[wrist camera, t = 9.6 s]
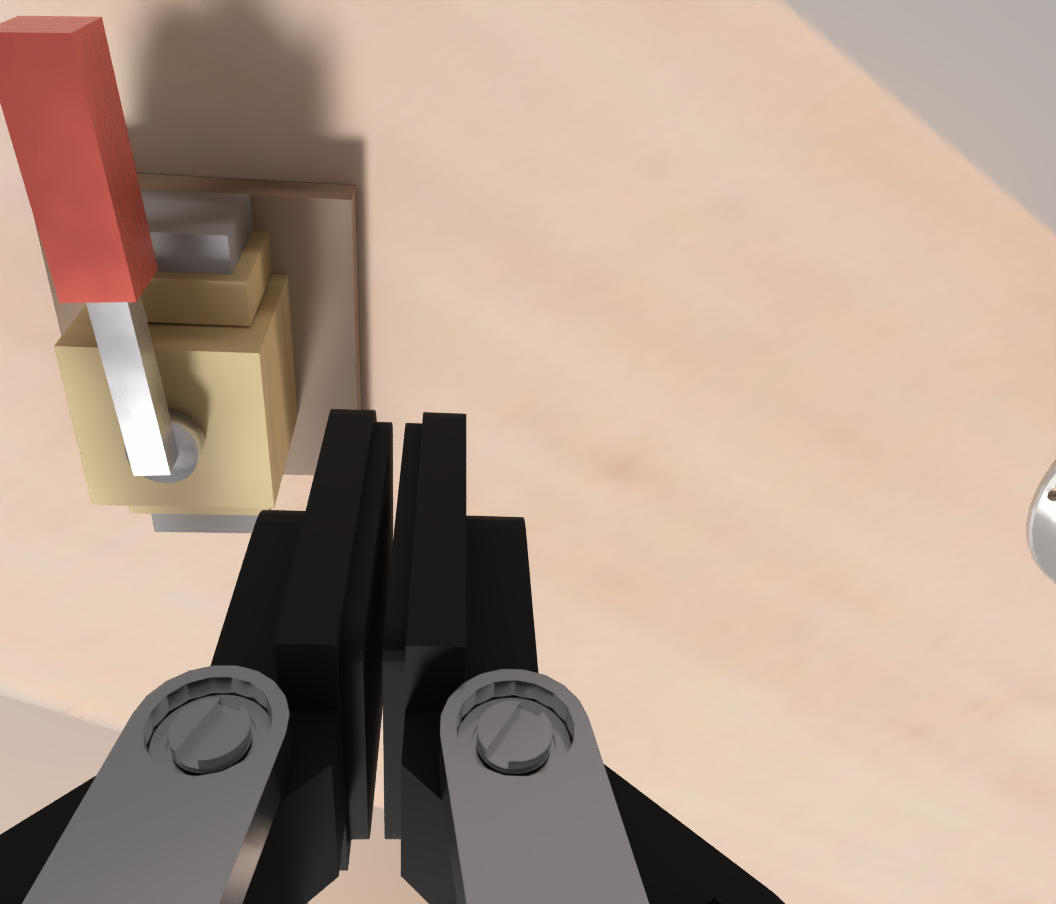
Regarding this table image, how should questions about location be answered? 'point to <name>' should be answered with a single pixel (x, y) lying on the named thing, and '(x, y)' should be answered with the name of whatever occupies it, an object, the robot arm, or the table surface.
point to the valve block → (229, 344)
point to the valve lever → (93, 219)
